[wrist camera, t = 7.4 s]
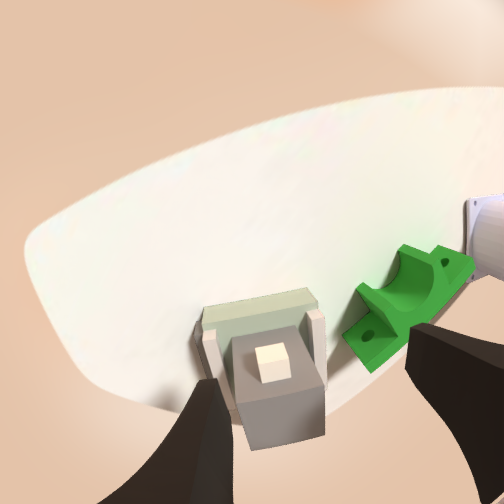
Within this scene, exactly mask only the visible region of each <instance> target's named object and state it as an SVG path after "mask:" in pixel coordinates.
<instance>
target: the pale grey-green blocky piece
mask: <svg viewBox="0 0 504 504" xmlns="http://www.w3.org/2000/svg"><path fill="white" fill-rule="evenodd" d="M292 325H295V326H296V328H297V330H298V332H299V334H300V336H301V338H302V340H303V342H304V344H305V346H306V348H307V350H308V352H309V354H310V356H311V358H312V360H313V362H314V364H315V366H316V368H317V371H318V373H319V375H320V377H321V379H322V381H323V383H324V385H325V390H327V355H326V333H325V317H324V316H323V314H322V313H321V311H320V310H319V309H318V301H317V300H316V298H315V297H314V296H313V295H312V293H311V292H310V291H309V289H308V288H307V287H306V288H302V289H297V290H292V291H287V292H282V293H278V294H273V295H267V296H262V297H257V298H252V299H247V300H241V301H236V302H230V303H225V304H219V305H213V306H207V307H204V311H203V318H202V321H196V326H195V331H194V338H195V342H196V345H197V348H198V351H199V354H200V358H201V361H202V364H203V367H204V370H205V373H206V376H207V379H212V378H217V379H218V382H219V385H220V388H221V391H222V394H223V397H224V400H225V403H226V405H227V408H228V410H235V409H236V398H235V383H234V368H233V351H232V337H236V336H242V335H247V334H253V333H258V332H263V331H268V330H273V329H278V328H282V327H287V326H292Z"/></svg>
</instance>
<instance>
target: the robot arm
mask: <svg viewBox="0 0 504 504" xmlns="http://www.w3.org/2000/svg"><path fill="white" fill-rule="evenodd" d="M466 255H467V256H470V257H473V260H474V263H475V267H476V269H475V270H474V272H473V273H472V274H471V275H470V277H469V278H468V279H467V280H466V281H465V282H466V283H470V282H473V281H475V280H477V279H480V278H482V277H484V276H486V275H491V276H493V277H496V278H498V279H500V280H502V281H504V194H496V195H488V196H480V197H473V198H468V200H467V248H466ZM405 370H406V371H407V373H408V375H409V377H410V378H411V380H412V382H413V383H414V385H415V386H416V388H417V389H418V390H419V391H420V393H421V394H422V395H423V396H424V398H425V399H426V400H427V401H428V403H429V404H430V405H431V406H432V407H433V409H434V410H435V411H436V412H437V413H438V415H439V416H440V417H441V418H442V420H443V421H444V422H445V423H446V425H447V426H448V428H449V429H450V431H451V432H452V434H453V436H454V437H455V439H456V441H457V442H458V444H459V446H460V448H461V450H462V452H463V454H464V456H465V458H466V460H467V462H468V465H469V467H470V469H471V472H472V475H473V477H474V480H475V484H476V487H477V490H478V494H479V498H480V502H481V503H482V504H490V503H492V502H493V501H494V500H495V499H497V498H498V497H499V496H500V495H501V494H502V493H503V492H504V345H502V344H497V343H492V342H488V341H484V340H480V339H476V338H473V337H470V336H466V335H463V334H459V333H457V332H453V331H450V330H447V329H444V328H441V327H438V326H434V325H431V324H427V323H419V324H417V325H414V326H412V327H410V332H409V341H408V349H407V357H406V364H405ZM98 504H234V503H233V434H232V425H231V417H230V414H229V411H228V408H227V405H226V403H225V400H224V397H223V394H222V391H221V388H220V385H219V382H218V379H217V378H212V379H205V380H199V382H198V383H197V385H196V387H195V389H194V391H193V393H192V395H191V396H190V398H189V400H188V402H187V404H186V406H185V407H184V409H183V411H182V412H181V414H180V416H179V418H178V419H177V421H176V423H175V424H174V426H173V427H172V429H171V430H170V432H169V433H168V434H167V436H166V437H165V439H164V440H163V442H162V443H161V444H160V446H159V447H158V448H157V450H156V451H155V452H154V453H153V454H152V456H151V457H150V458H149V459H148V460H147V461H146V463H145V464H144V465H143V466H142V467H141V468H140V469H139V470H138V471H137V472H136V473H135V474H134V475H133V476H132V477H131V478H130V479H129V480H128V481H126V482H125V483H124V484H123V485H122V486H121V487H120V488H118V489H117V490H116V491H114V492H113V493H112V494H110V495H109V496H108V497H107V498H105V499H103V500H102V501H101V502H99V503H98ZM497 504H504V498H503V499H501V500H500V501H499V502H498V503H497Z"/></svg>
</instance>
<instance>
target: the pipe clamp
mask: <svg viewBox="0 0 504 504" xmlns="http://www.w3.org/2000/svg"><path fill="white" fill-rule="evenodd" d="M398 252H399V255H400V267H399V271H398V273H397V275H396V277H395V279H394V280H393V281H392V282H391V283H390V284H389V285H388V286H386V287H384V288H381V289H372V288H370V287H369V286H368V285H366V284H365V283H364V282H363V283H361V284H360V285H359V286H358V287H357V288H356V290H357V291H358V293H359V294H360V296H361V297H362V299H363V300H364V302H365V303H366V305H367V306H368V308H369V309H370V312H369V313H368V314H367V315H365V316H364V317H363V318H362V319H361V320H360V321H358V322H357V323H356V324H355V325H354V326H352V327H351V328H350V329H349V330H348V331H346V332H345V333H344V334H343V335H342V336H343V337H344V339H345V340H346V342H347V343H348V344H349V346H350V347H351V348H352V350H353V351H354V352H355V354H356V355H357V356H358V358H359V359H360V360H361V362H362V363H363V365H364V366H365V367H366V368H367V370H368V371H369V372H370V373H372V372H374V371H375V370H376V369H377V368H379V367H380V366H381V365H382V364H383V363H385V362H386V361H387V360H388V359H389V358H390V357H392V356H393V355H394V354H395V353H396V352H397V351H398V350H400V349H401V348H402V347H403V346H404V345H405V344H406V343H407V342H408V341H409V332H410V327H412V326H414V325H417V324H419V323H428V322H429V321H430V320H431V319H432V318H433V317H434V316H435V315H436V314H437V313H438V312H439V311H440V310H441V309H442V308H443V306H444V305H445V304H446V303H447V302H448V301H449V300H450V299H451V298H452V297H453V295H454V294H455V293H456V292H457V291H458V290H459V289H460V287H461V286H462V285H463V284H464V283H465V281H466V280H467V279H468V278H469V277H470V275H471V274H472V273H473V272H474V270H475V269H476V267H475V263H474V260H473V257H470V256H467V255H465V254H462V253H459V252H457V251H454V250H451V249H448V248H445V247H443V246H440V245H438V246H437V247H436V248H435V249H434V250H433V251H432V252H431V253H430V254H428V253H426V252H423V251H421V250H418V249H416V248H413V247H410V246H408V245H405V244H403V245H402V246H401V247H400V248H399V249H398Z"/></svg>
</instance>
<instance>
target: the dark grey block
mask: <svg viewBox="0 0 504 504" xmlns="http://www.w3.org/2000/svg"><path fill="white" fill-rule="evenodd" d="M232 351H233V368H234V383H235V398H236V406H237V409H238V412H239V415H240V418H241V422H242V425H243V428H244V431H245V434H246V437H247V440H248V443H249V446H250V449H251V451H254V450H260V449H266V448H272V447H277V446H282V445H287V444H291V443H295V442H299V441H304V440H308V439H312V438H316V437H319V436H323V435H325V385H324V383H323V381H322V379H321V377H320V375H319V373H318V371H317V368H316V366H315V364H314V362H313V360H312V358H311V356H310V354H309V352H308V350H307V348H306V346H305V344H304V342H303V340H302V338H301V336H300V334H299V332H298V330H297V328H296V326H295V325H292V326H287V327H282V328H278V329H273V330H268V331H263V332H258V333H253V334H247V335H242V336H236V337H232Z"/></svg>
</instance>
